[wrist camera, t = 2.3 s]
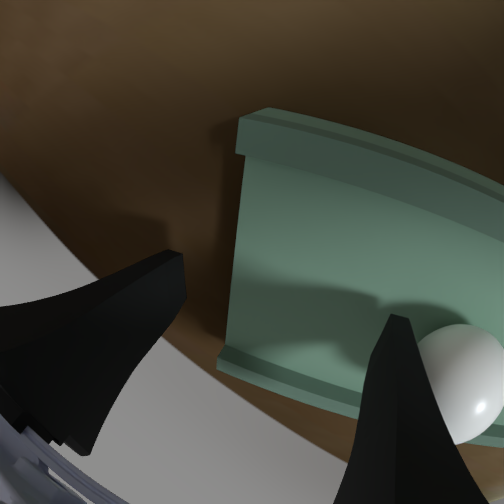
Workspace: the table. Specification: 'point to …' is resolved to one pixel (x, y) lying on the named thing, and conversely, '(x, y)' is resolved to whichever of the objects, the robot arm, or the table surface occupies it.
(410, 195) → the green tray
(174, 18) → the table surface
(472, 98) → the table surface
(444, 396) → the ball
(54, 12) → the table surface
